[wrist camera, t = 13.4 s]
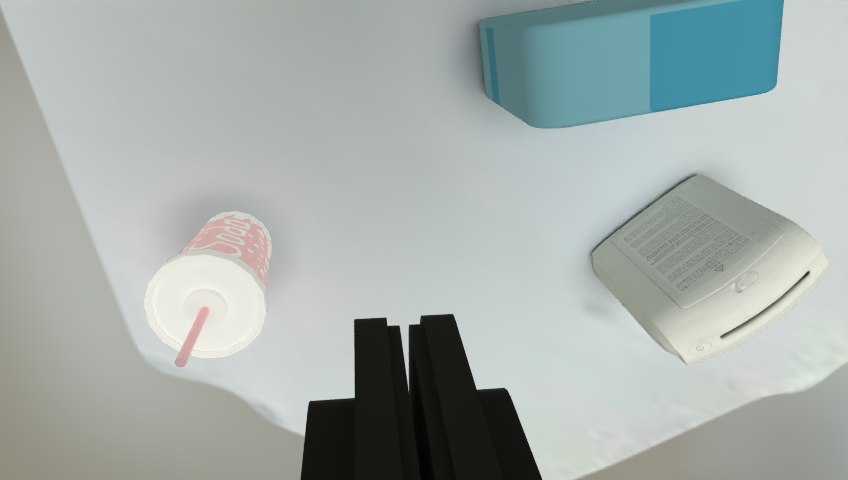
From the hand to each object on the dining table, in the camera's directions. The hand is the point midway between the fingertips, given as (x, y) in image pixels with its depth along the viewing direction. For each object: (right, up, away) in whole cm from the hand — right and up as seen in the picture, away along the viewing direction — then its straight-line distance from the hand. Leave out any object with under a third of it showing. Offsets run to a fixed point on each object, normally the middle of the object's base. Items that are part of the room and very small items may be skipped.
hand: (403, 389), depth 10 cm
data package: (+10, +15, +27) cm, 32 cm away
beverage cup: (-12, +2, +29) cm, 31 cm away
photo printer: (+17, +3, +32) cm, 36 cm away
